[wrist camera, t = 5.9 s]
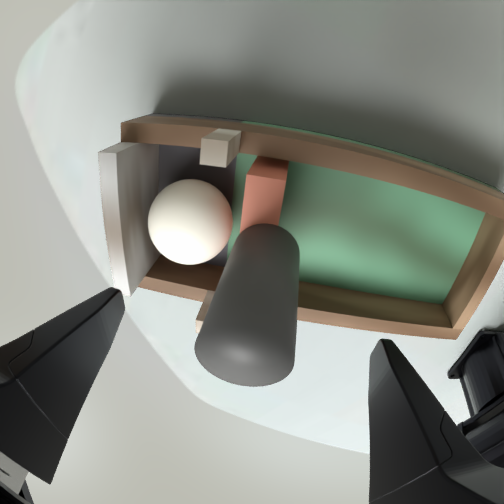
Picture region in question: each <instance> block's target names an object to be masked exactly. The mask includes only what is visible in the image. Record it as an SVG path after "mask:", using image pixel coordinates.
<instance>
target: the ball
mask: <svg viewBox="0 0 504 504" xmlns="http://www.w3.org/2000/svg"><path fill="white" fill-rule="evenodd" d="M232 226H233V217H232V211H231V208H230V205H229V203H228V201H227V199H226V198H225V196H224V195H223V194H222V193H221V191H220V190H218V189H217V188H216V187H215V186H213V185H211V184H210V183H207V182H205V181H201V180H197V179H185V180H180V181H177V182H174V183H172V184H170V185H168V186H167V187H165V188H164V189H163V190H162V191H161V192H160V193H159V194H158V195H157V196H156V198H155V199H154V201H153V203H152V205H151V207H150V211H149V215H148V230H149V234H150V237H151V240H152V242H153V244H154V245H155V247H156V248H157V249H158V251H159V252H160V253H161V254H163V255H164V256H165V257H166V258H168V259H170V260H172V261H174V262H176V263H180V264H186V265H194V264H200V263H203V262H206V261H208V260H210V259H212V258H213V257H215V256H216V255H217V254H218V253H220V252H221V251H222V249H223V248H224V247H225V245H226V244H227V242H228V240H229V238H230V235H231V232H232Z"/></svg>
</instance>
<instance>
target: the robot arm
mask: <svg viewBox="0 0 504 504" xmlns="http://www.w3.org/2000/svg"><path fill="white" fill-rule="evenodd" d="M124 311H125V305H124V300H123V295H122V291H121V290H120V289H117V288H113V287H110V288H108V289H106V290H104V291H102V292H100V293H98V294H97V295H95V296H93V297H91V298H89V299H87V300H86V301H84V302H82V303H80V304H78V305H76V306H75V307H73V308H71V309H69V310H67V311H66V312H64V313H62V314H60V315H58V316H56V317H55V318H53V319H51V320H49V321H47V322H46V323H44V324H42V325H40V326H39V327H37V328H35V330H32V331H30V332H28V333H26V334H24V335H23V336H21V337H19V338H17V339H15V340H13V341H11V342H9V343H7V344H5V345H3V346H1V347H0V504H34V503H33V500H32V497H31V495H30V492H29V489H28V486H27V483H26V480H25V478H26V476H27V474H28V472H30V473H32V474H33V475H35V476H36V477H38V478H40V479H41V480H43V481H45V482H46V483H48V484H51V482H52V480H53V477H54V474H55V471H56V469H57V466H58V464H59V461H60V458H61V456H62V453H63V451H64V448H65V446H66V443H67V441H68V438H69V436H70V433H71V431H72V429H73V426H74V424H75V422H76V419H77V417H78V415H79V413H80V410H81V408H82V406H83V404H84V402H85V399H86V397H87V395H88V393H89V391H90V388H91V387H92V384H93V382H94V380H95V378H96V376H97V374H98V372H99V370H100V368H101V366H102V364H103V362H104V360H105V358H106V356H107V354H108V352H109V350H110V348H111V345H112V343H113V340H114V337H115V335H116V332H117V330H118V327H119V324H120V322H121V320H122V317H123V314H124ZM447 375H448V378H449V379H460V382H461V385H462V388H463V391H464V395H465V398H466V402H467V405H468V409H469V413H470V416H471V418H469V419H467V420H466V421H464V422H461V423H459V424H458V425H457V426H456V424H455V423H454V422H453V420H452V419H451V418H450V416H449V415H448V413H447V412H446V411H444V408H443V407H442V405H441V404H440V402H439V401H438V400H437V398H436V397H435V396H434V394H433V393H432V392H431V390H430V389H429V388H428V386H427V385H426V384H425V382H424V381H423V380H422V378H421V377H420V376H419V374H418V373H417V372H416V370H415V369H414V368H413V366H412V365H411V364H410V363H409V361H408V360H407V359H406V357H405V356H404V355H403V354H402V352H401V351H400V350H399V348H398V347H397V346H396V345H395V343H394V342H393V341H392V340H390V339H380V340H379V341H378V343H377V345H376V346H375V348H374V350H373V352H372V353H371V356H370V368H369V391H368V405H369V429H370V488H369V502H370V503H369V504H504V332H495V331H481V332H479V333H478V334H477V336H476V337H475V339H474V340H473V341H472V343H471V344H470V346H469V347H468V348H467V350H466V351H465V352H464V354H463V355H462V356H461V357H460V359H459V360H458V361H457V362H456V364H455V365H454V366H453V367H452V369H451V370H450V371H449V372H448V374H447Z"/></svg>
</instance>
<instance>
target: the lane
mask: <svg viewBox="0 0 504 504" xmlns="http://www.w3.org/2000/svg"><path fill="white" fill-rule="evenodd" d="M257 156H264V157H270V158H276V159H282V160H288V161H289V165H288V172H287V179H286V185H285V190H284V196H283V202H282V208H281V213H280V219H279V224H278V226H280V227H282V228H284V229H285V230H287V231H288V232H289V233H291V234H292V236H293V237H294V238H295V240H296V241H297V243H298V246H299V250H300V264H299V290H298V311H297V320H301V321H307V322H313V323H319V324H326V325H332V326H339V327H346V328H353V329H361V330H368V331H376V332H384V333H392V334H401V335H410V336H420V337H430V338H441V339H453V340H456V339H457V338H458V336H459V335H460V333H461V332H462V330H463V329H464V327H465V326H466V324H467V323H468V321H469V320H470V318H471V317H472V315H473V313H474V312H475V310H476V309H477V307H478V305H479V304H480V302H481V300H482V299H483V297H484V295H485V294H486V292H487V290H488V288H489V286H490V285H491V283H492V281H493V279H494V277H495V275H496V274H497V272H498V270H499V268H500V266H501V264H502V262H503V260H504V193H502V192H501V191H500V190H498V189H497V188H495V187H493V186H490V185H488V184H486V183H483V182H481V181H478V180H476V179H473V178H471V177H468V176H466V175H463V174H461V173H458V172H455V171H453V170H450V169H447V168H444V167H441V166H439V165H436V164H433V163H430V162H427V161H424V160H421V159H418V158H415V157H411V156H408V155H405V154H402V153H398V152H395V151H391V150H388V149H384V148H381V147H377V146H373V145H369V144H365V143H361V142H357V141H353V140H349V139H345V138H340V137H336V136H331V135H327V134H322V133H317V132H312V131H307V130H301V129H296V128H290V127H284V126H278V125H272V124H265V123H258V122H250V121H242V120H234V119H225V118H215V117H203V116H190V115H172V114H149V115H146V116H142V117H139V118H135V119H132V120H128V121H125V122H122V123H121V142H120V143H118V144H115V145H113V146H111V147H108V148H106V149H104V150H102V151H100V152H98V158H99V175H100V188H101V199H102V209H103V218H104V226H105V234H106V241H107V247H108V254H109V260H110V266H111V272H112V277H113V282H114V287H115V288H117V289H120V290H121V291H122V295H125V296H129V297H131V296H132V294H133V293H134V291H135V290H136V288H137V287H140V288H144V289H148V290H153V291H157V292H161V293H165V294H170V295H174V296H178V297H183V298H187V299H192V300H196V301H201V302H203V304H202V306H201V308H200V311H199V313H198V315H197V318H196V333H199V332H200V329H201V326H202V324H203V321H204V319H205V316H206V314H207V311H208V308H209V306H210V303H211V301H212V298H213V296H214V293H215V291H216V288H217V285H218V283H219V280H220V278H221V275H222V273H223V270H224V268H225V265H226V263H227V260H228V258H229V255H230V253H231V250H232V248H233V245H234V243H235V240H236V239H237V237H238V235H239V234H240V226H241V217H242V208H243V200H244V191H245V183H246V174H247V173H248V171H249V169H250V168H251V166H252V164H253V163H254V161H255V159H256V158H257ZM185 179H197V180H201V181H205V182H207V183H210V184H211V185H213V186H215V187H216V188H217V189H218V190H220V191H221V193H222V194H223V195H224V196H225V198H226V199H227V201H228V203H229V205H230V208H231V211H232V217H233V226H232V232H231V235H230V238H229V240H228V242H227V244H226V245H225V247H224V248H223V249H222V251H221V252H220V253H218V254H217V255H216V256H215V257H213V258H212V259H210V260H208V261H206V262H203V263H200V264H194V265H186V264H180V263H176V262H174V261H172V260H170V259H168V258H166V257H165V256H164V255H163V254H161V253H160V252H159V251H158V249H157V248H156V247H155V245H154V244H153V242H152V240H151V237H150V234H149V230H148V215H149V211H150V207H151V205H152V203H153V201H154V199H155V198H156V196H157V195H158V194H159V193H160V192H161V191H162V190H163V189H164V188H165V187H167V186H168V185H170V184H172V183H174V182H177V181H180V180H185Z"/></svg>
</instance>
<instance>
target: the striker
mask: <svg viewBox="0 0 504 504" xmlns="http://www.w3.org/2000/svg"><path fill="white" fill-rule="evenodd" d="M288 165H289V161H288V160H282V159H276V158H270V157H264V156H257V158H256V159H255V161H254V163H253V164H252V166H251V168H250V169H249V171H248V173H247V174H246V183H245V191H244V200H243V208H242V217H241V226H240V234H239V235H238V237H237V239H236V240H235V243H234V245H233V248H232V250H231V253H230V255H229V258H228V260H227V263H226V265H225V268H224V270H223V273H222V275H221V278H220V280H219V283H218V285H217V288H216V291H215V293H214V296H213V298H212V301H211V303H210V306H209V308H208V311H207V314H206V316H205V319H204V321H203V324H202V326H201V329H200V332H199V334H198V337H197V339H196V342H195V354H196V357H197V359H198V361H199V362H200V363H201V365H202V366H203V367H204V368H205V369H206V370H207V371H208V372H210V373H211V374H213V375H214V376H216V377H218V378H220V379H222V380H224V381H227V382H230V383H233V384H237V385H242V386H253V387H257V386H266V385H271V384H274V383H277V382H279V381H281V380H283V379H284V378H286V377H287V376H288V375H289V374H290V372H291V371H292V369H293V366H294V359H295V345H296V329H297V311H298V290H299V264H300V250H299V246H298V243H297V241H296V240H295V238H294V237H293V236H292V234H291V233H289V232H288V231H287V230H285V229H284V228H282V227H280V226H278V224H279V219H280V213H281V208H282V202H283V196H284V190H285V185H286V179H287V172H288Z"/></svg>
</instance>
